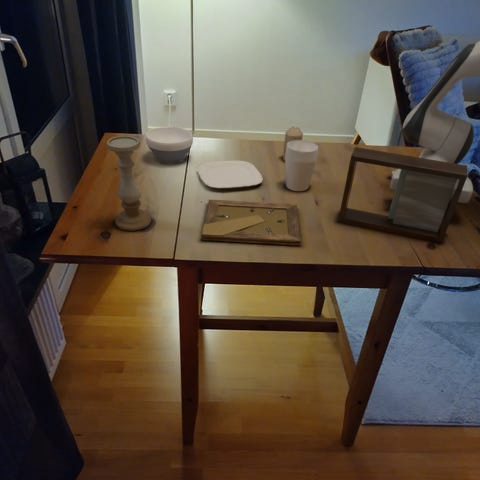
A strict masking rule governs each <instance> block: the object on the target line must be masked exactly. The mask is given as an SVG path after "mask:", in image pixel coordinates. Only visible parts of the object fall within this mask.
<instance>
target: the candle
mask: <svg viewBox="0 0 480 480" xmlns="http://www.w3.org/2000/svg"><path fill="white" fill-rule="evenodd" d="M303 136H304V133H303V131H302V130H301V128H299V127H295V126H291V127H290V128H288V129H287V130H286V131H285V134H284V143H283V152H282V160H283V161H284V162H285V153H286V148H287V143H288V142H290V141H294V140H303Z"/></svg>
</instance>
